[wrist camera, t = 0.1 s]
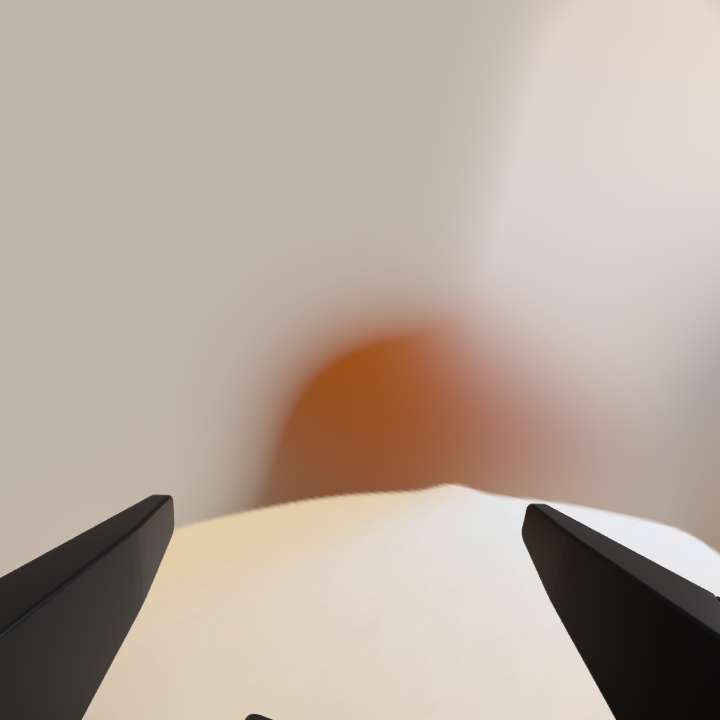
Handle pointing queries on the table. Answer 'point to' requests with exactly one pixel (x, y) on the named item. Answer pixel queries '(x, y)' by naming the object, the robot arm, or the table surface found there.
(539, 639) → the table surface
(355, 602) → the table surface
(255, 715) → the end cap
